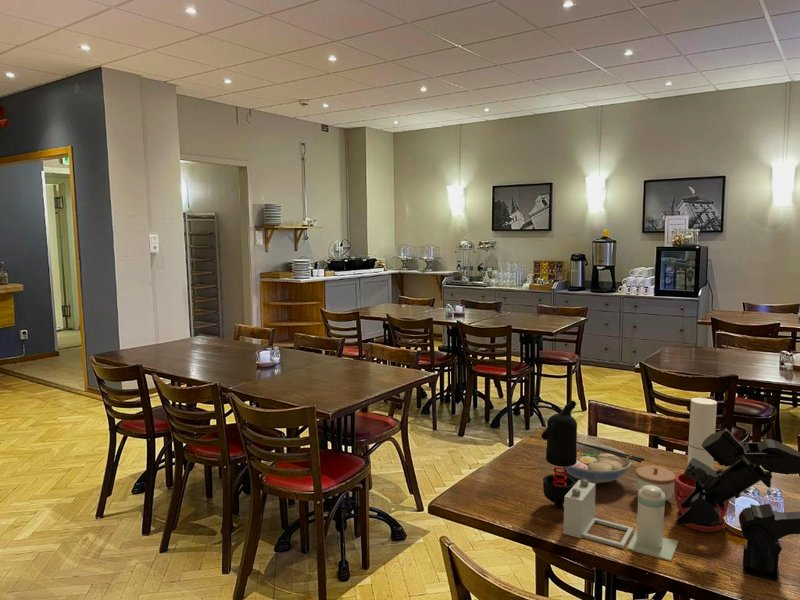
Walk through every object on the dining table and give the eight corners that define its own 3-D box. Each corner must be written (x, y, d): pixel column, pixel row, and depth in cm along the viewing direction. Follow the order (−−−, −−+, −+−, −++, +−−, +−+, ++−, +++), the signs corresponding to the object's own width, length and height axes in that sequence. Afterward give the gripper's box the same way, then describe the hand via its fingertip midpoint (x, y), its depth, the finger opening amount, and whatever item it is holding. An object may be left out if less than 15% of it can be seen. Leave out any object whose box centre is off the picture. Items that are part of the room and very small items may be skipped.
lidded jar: (628, 498, 176) (629, 467, 174) (644, 487, 183) (645, 457, 182) (665, 510, 168) (667, 478, 167) (680, 498, 176) (682, 467, 174)
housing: (634, 529, 158) (635, 488, 156) (622, 550, 148) (624, 506, 146) (577, 514, 166) (578, 475, 164) (563, 533, 156) (564, 491, 155)
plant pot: (738, 527, 159) (741, 483, 157) (707, 540, 152) (709, 495, 151) (692, 507, 170) (695, 466, 168) (661, 518, 163) (664, 476, 162)
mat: (678, 542, 151) (678, 541, 151) (671, 561, 143) (671, 559, 143) (636, 531, 156) (636, 530, 156) (626, 549, 148) (626, 547, 148)
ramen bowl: (537, 477, 191) (537, 452, 190) (577, 458, 206) (578, 435, 205) (610, 503, 172) (611, 476, 171) (648, 481, 188) (649, 455, 187)
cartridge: (665, 540, 151) (667, 487, 149) (660, 552, 146) (663, 496, 144) (638, 533, 155) (641, 481, 153) (633, 544, 149) (635, 490, 148)
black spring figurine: (558, 495, 178) (560, 396, 174) (584, 506, 171) (587, 403, 167) (527, 508, 170) (529, 404, 166) (553, 520, 163) (556, 412, 159)
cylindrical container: (717, 481, 187) (722, 402, 184) (700, 485, 184) (704, 405, 181) (698, 472, 193) (702, 396, 190) (681, 476, 191) (685, 399, 188)
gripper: (711, 439, 149) (660, 473, 156) (705, 465, 133) (649, 501, 140) (746, 476, 146) (693, 509, 153) (744, 507, 130) (685, 542, 137)
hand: (680, 514), depth 146 cm, fingers open, 9 cm apart
